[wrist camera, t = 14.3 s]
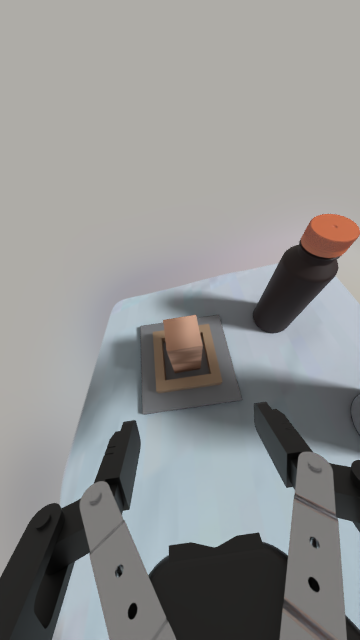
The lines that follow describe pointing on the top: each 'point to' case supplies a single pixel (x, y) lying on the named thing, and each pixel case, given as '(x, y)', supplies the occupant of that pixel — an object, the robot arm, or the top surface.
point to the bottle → (304, 271)
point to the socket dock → (191, 386)
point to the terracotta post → (183, 343)
